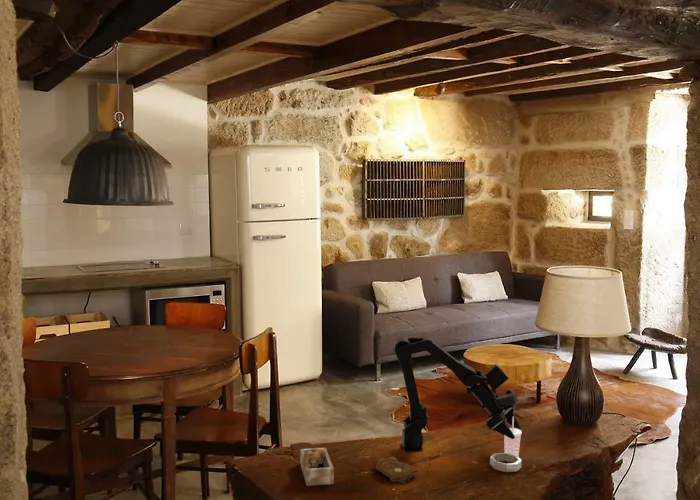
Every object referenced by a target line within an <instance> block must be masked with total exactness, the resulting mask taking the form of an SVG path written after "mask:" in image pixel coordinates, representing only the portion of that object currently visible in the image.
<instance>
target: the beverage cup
mask: <svg viewBox="0 0 700 500" xmlns="http://www.w3.org/2000/svg"><path fill="white" fill-rule="evenodd" d="M509 428H510V430H511V431H512V433H513V434H514V436H515V438H514V439H511V438H509V437H507V436H505V435H503V440H504V441H503V442H504V446H503V447H504V453H510V454H514V455H516V456H518V457H519V455H520V454H519V453H520V448H521V447H520V445H521V438H522V433H523V432H522V430H521V429H520V430H519V429H517V428H514V417H513V420H512V426H511V427H509Z"/></svg>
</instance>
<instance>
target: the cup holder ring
mask: <svg viewBox="0 0 700 500" xmlns="http://www.w3.org/2000/svg"><path fill="white" fill-rule="evenodd" d="M489 457H490V458H489V465H490V466H491V467H492V469H494V470H497V471H500V472H504V473H512V472H513V473H514V472H516V473H517V472H518V471H519V470H520V469H522V461H523V460H522V459H521V458H520V457H519V455H518V456H516V455H514V454H510V453H505V452H493V454H492V455H491V456H489ZM505 462H507V463H505Z"/></svg>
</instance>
